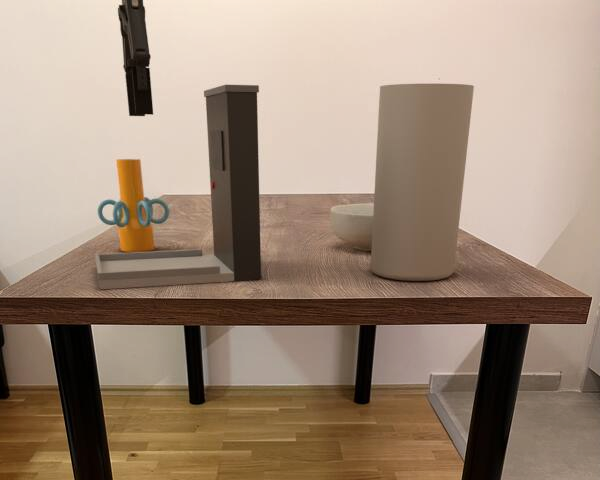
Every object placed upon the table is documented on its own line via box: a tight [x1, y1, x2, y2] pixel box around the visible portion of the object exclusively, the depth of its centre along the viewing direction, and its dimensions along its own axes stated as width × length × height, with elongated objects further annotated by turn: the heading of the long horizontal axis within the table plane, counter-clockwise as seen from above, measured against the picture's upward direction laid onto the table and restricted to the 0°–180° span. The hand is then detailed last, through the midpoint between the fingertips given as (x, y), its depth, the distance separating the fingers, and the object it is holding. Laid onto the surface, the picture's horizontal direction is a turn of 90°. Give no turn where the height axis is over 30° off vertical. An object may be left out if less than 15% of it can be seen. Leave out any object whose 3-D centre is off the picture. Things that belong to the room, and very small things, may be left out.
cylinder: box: [97, 158, 170, 253], centre depth 111 cm, size 12×10×15 cm
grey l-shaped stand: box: [94, 84, 262, 290], centre depth 91 cm, size 23×16×25 cm
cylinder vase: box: [370, 83, 475, 282], centre depth 91 cm, size 12×12×25 cm
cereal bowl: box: [329, 202, 374, 252], centre depth 116 cm, size 17×17×7 cm
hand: (140, 115), depth 108 cm, fingers open, 13 cm apart
